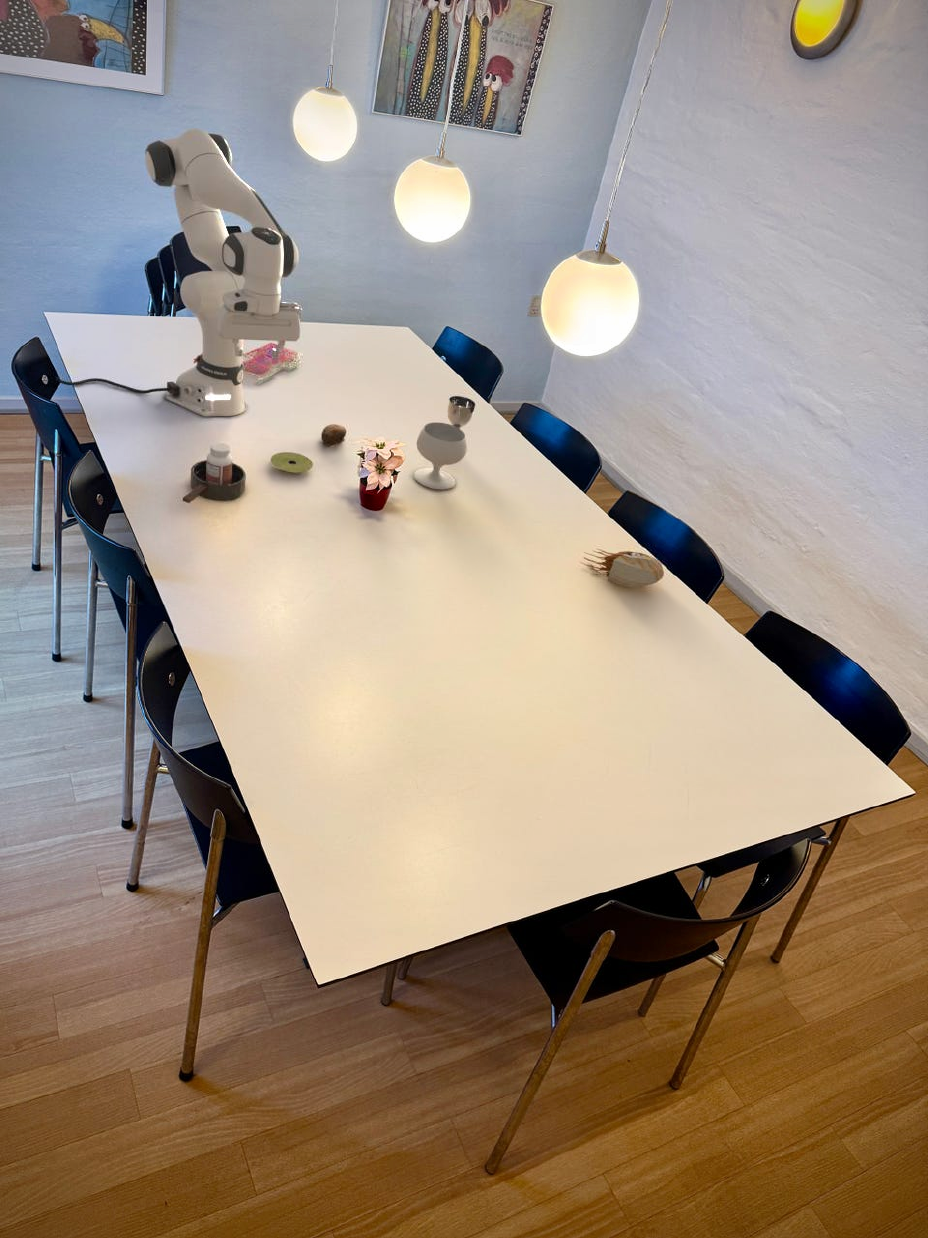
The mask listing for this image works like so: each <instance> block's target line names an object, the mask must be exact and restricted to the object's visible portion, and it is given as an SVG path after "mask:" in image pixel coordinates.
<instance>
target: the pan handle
mask: <svg viewBox="0 0 928 1238" xmlns="http://www.w3.org/2000/svg"><path fill="white" fill-rule="evenodd" d="M207 489H208V485H205V484H202V483H201V484H200V485H199V486H198V487H196V488H195V489H194V490H192V489H191V491H190V492H188V493H187V494H185V495H184V496H182V502H184V503H187V504H190V503H192V502H193V501H194V500H196V499H197V498H198V497H200V496H199V495H201V494H202V493H203V492H204V491H206V490H207Z"/></svg>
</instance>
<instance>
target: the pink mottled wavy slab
mask: <svg viewBox="0 0 928 1238" xmlns="http://www.w3.org/2000/svg"><path fill="white" fill-rule="evenodd" d="M277 345H278V344H276V343H274V342H269V343H267V344H265V345H262V346H259V347H257V348H255V349H252V350H250V351H248V352H246V353H243V357H245V358H247V359H248V360H246V361H243V362H244V369H243V373H244V372H245V373H247V374H250V375H252V376H254V377H255V380H256V381H258V382H257V385H260V384H262V383H264V382H267V381H268V380H271V379H272V377H273V375H275V374H277V373H279V372H280V371H281V370H285V371H288V372H289V371H291V370H294V369H295V368H296V366H297V365H299V364H300V363H302V361H301V360H300V359H302V358H303V353H301V352H298V351H295V350H292V349H290V348H288V347H285V346H284V347H283V348H282V350H281V351H280V355H279V357H273V356H272V348H276V346H277Z"/></svg>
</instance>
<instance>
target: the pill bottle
mask: <svg viewBox="0 0 928 1238" xmlns="http://www.w3.org/2000/svg"><path fill="white" fill-rule="evenodd" d="M230 453H231V446H230V445H229V444H227V443H224V442H214V443H212V444H210V446H209V452H208V453H207V454H206V460H207V463H206V482H208V483H212V484H219V485H227V484H231V478H232V463H233V457H232V455H231V454H230Z"/></svg>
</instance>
